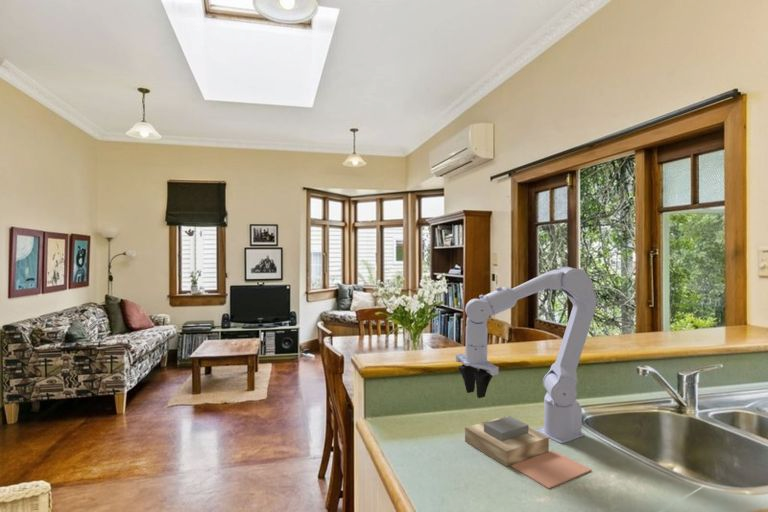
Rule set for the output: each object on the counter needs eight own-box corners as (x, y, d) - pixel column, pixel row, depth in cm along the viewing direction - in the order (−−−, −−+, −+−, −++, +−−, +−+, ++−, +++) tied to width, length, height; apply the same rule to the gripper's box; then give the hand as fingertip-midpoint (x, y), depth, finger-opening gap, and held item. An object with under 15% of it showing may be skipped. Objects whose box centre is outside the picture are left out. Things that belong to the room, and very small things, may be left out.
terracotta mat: (553, 451, 103) (553, 450, 103) (591, 470, 95) (591, 469, 95) (511, 466, 96) (511, 465, 96) (548, 489, 88) (548, 487, 88)
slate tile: (509, 423, 110) (510, 416, 110) (528, 433, 105) (528, 425, 105) (483, 431, 106) (483, 423, 106) (501, 441, 101) (501, 433, 101)
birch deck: (505, 429, 115) (505, 416, 115) (548, 451, 103) (548, 437, 103) (465, 441, 108) (465, 427, 108) (506, 466, 96) (506, 451, 96)
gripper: (447, 340, 119) (446, 388, 119) (484, 352, 106) (483, 406, 107) (466, 337, 122) (466, 384, 123) (504, 348, 110) (504, 401, 110)
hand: (475, 394), depth 115 cm, fingers open, 4 cm apart
